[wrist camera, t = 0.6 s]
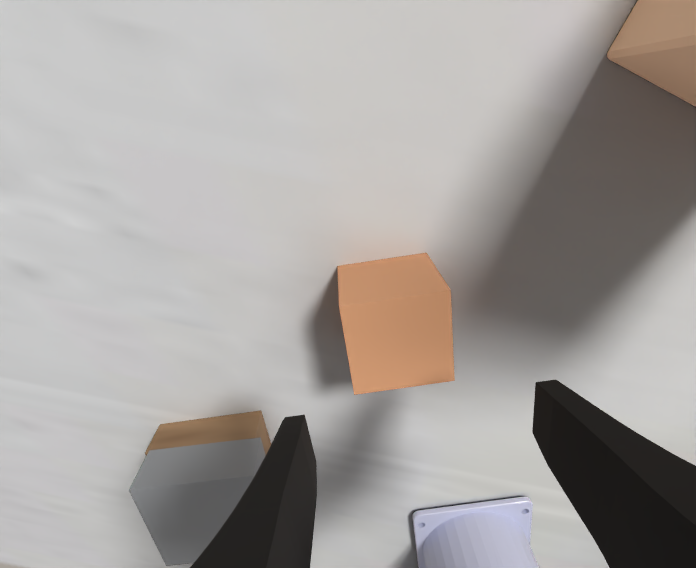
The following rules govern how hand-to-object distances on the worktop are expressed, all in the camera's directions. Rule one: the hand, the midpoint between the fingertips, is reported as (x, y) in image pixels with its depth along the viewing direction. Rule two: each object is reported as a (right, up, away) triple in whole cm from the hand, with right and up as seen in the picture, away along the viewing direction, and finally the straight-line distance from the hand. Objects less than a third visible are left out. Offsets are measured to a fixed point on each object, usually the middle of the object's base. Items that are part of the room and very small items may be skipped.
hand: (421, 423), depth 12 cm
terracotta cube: (0, +4, +8) cm, 9 cm away
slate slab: (-10, -7, +10) cm, 16 cm away
